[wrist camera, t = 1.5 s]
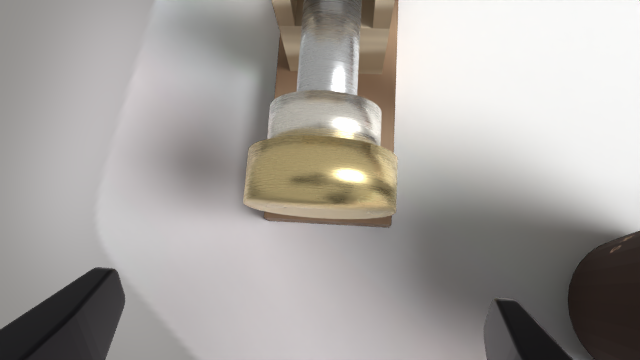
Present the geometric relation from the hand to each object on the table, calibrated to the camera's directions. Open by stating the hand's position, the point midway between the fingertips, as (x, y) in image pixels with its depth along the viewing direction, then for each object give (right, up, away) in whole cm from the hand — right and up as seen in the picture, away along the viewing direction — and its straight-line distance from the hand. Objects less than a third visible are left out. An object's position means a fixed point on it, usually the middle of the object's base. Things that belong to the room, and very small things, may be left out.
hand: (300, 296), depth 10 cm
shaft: (+1, +5, +10) cm, 11 cm away
